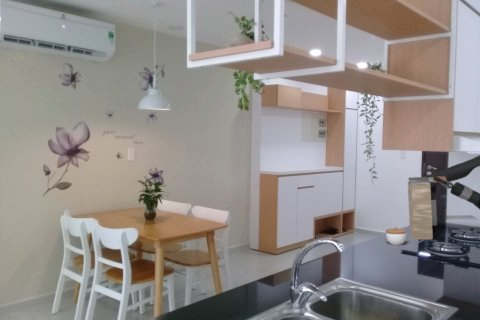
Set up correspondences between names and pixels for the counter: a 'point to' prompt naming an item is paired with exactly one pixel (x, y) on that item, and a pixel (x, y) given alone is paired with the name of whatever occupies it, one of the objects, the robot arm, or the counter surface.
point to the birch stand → (420, 208)
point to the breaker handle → (434, 180)
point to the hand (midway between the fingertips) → (433, 177)
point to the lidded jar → (396, 236)
